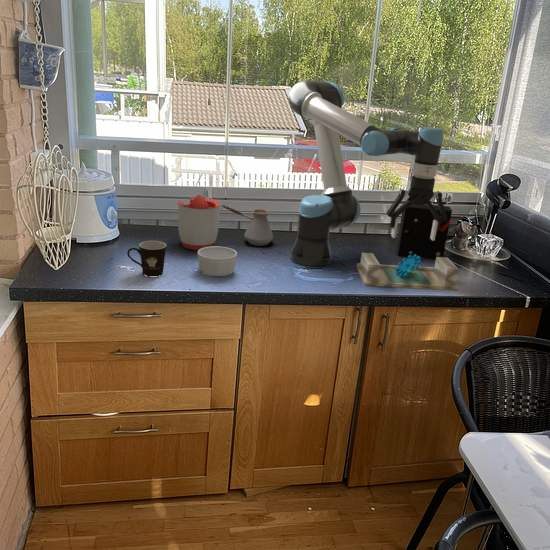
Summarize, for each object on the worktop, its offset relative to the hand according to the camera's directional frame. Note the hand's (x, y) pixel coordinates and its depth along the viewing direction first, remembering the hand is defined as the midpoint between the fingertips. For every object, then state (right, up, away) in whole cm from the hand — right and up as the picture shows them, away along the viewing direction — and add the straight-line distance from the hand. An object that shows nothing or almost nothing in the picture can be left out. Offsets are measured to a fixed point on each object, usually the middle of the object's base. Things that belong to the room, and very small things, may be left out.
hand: (412, 238), depth 193 cm
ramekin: (-67, -12, 0) cm, 68 cm away
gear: (-1, -13, +5) cm, 14 cm away
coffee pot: (-58, 0, +31) cm, 66 cm away
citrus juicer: (-77, -1, +23) cm, 80 cm away
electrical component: (+10, -5, +33) cm, 35 cm away
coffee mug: (-88, -12, -6) cm, 89 cm away
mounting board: (-1, -14, +6) cm, 15 cm away
